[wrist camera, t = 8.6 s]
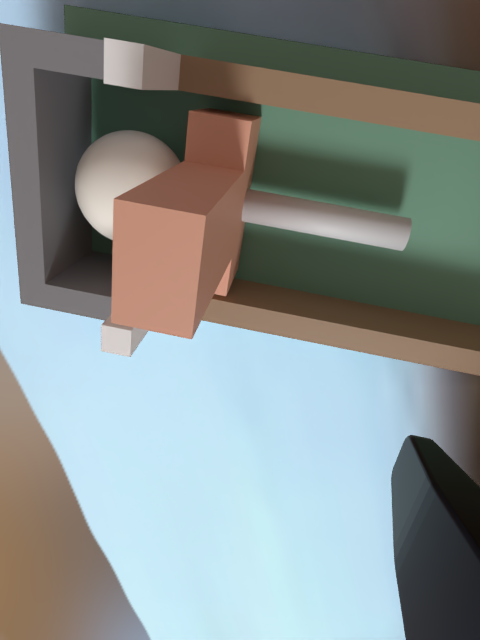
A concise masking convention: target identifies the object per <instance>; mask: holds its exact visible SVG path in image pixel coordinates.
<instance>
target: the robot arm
mask: <svg viewBox="0 0 480 640" xmlns="http://www.w3.org/2000/svg"><path fill="white" fill-rule="evenodd" d="M391 488H392V516H393V544H394V562H395V570H396V578H397V584H398V591H399V598H400V604H401V611H402V617H403V624H404V631H405V637H406V640H480V487H479V486H478V485H477V484H476V483H475V482H474V481H473V480H472V479H471V478H470V477H469V476H468V475H467V474H466V473H465V472H464V471H463V470H462V469H461V468H460V467H459V466H458V465H457V464H456V463H455V462H454V461H453V460H452V459H451V458H450V457H449V456H448V455H447V454H446V453H445V452H444V451H443V450H442V449H441V448H440V447H439V446H438V445H437V444H436V443H435V442H434V441H433V440H431V439H428V438H424V437H419V436H414V435H410V436H407V438H406V439H405V441H404V443H403V445H402V448H401V450H400V453H399V455H398V457H397V460H396V462H395V465H394V467H393V471H392V477H391Z"/></svg>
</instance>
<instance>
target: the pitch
mask: <svg viewBox="0 0 480 640" xmlns="http://www.w3.org/2000/svg"><path fill="white" fill-rule="evenodd" d="M64 16H65V34H63V33H57V32H51V31H45V30H39V29H32V28H26V27H20V26H14V25H8V24H2V23H0V52H1V65H2V77H3V89H4V102H5V114H6V126H7V138H8V151H9V163H10V175H11V188H12V200H13V212H14V225H15V237H16V249H17V262H18V274H19V286H20V299H21V303H22V304H27V305H32V306H37V307H41V308H46V309H51V310H56V311H61V312H66V313H71V314H76V315H81V316H86V317H91V318H96V319H101V320H105V321H104V323H103V324H102V325H101V351H103V352H108V353H113V354H118V355H123V356H128V357H131V355H132V354H133V352H134V351H135V349H136V348H137V347H138V345H139V344H140V342H141V341H142V339H143V338H144V336H145V335H146V334H147V332H148V331H149V330H144V329H139V328H134V327H129V326H124V325H119V324H114V323H111V302H112V251H113V240H111V239H109V238H107V237H105V236H104V235H102V234H101V233H99V232H98V231H97V230H96V229H95V228H93V227H92V225H91V224H90V223H89V222H88V221H87V220H86V218H85V217H84V215H83V213H82V211H81V209H80V207H79V205H78V202H77V198H76V194H75V174H76V170H77V166H78V163H79V161H80V159H81V157H82V155H83V154H84V152H85V151H86V150H87V148H88V147H89V146H90V145H91V144H92V143H94V142H95V141H96V140H97V139H99V138H101V137H102V136H104V135H106V134H109V133H112V132H116V131H121V130H134V131H140V132H144V133H147V134H150V135H152V136H154V137H156V138H158V139H159V140H161V141H162V142H163V143H165V144H166V145H167V146H168V147H169V148H170V149H171V150H172V151H173V152H174V153H175V154H176V156H177V158H178V159H179V161H180V162H183V161H185V149H186V138H187V126H188V115H189V111H191V110H197V109H204V108H213V109H219V110H224V111H230V112H236V113H242V114H248V115H254V116H259V117H261V124H260V130H259V137H258V143H257V150H256V156H255V163H254V169H253V175H252V182H251V188H250V189H252V190H258V191H263V192H269V193H274V194H280V195H285V196H291V197H296V198H302V199H307V200H313V201H319V202H324V203H330V204H335V205H341V206H346V207H352V208H357V209H363V210H368V211H374V212H379V213H385V214H390V215H396V216H401V217H407V218H411V220H412V227H411V233H410V237H409V240H408V242H407V245H406V247H405V249H404V250H403V251H399V250H394V249H389V248H383V247H378V246H373V245H367V244H362V243H356V242H351V241H346V240H340V239H335V238H329V237H324V236H319V235H313V234H308V233H302V232H297V231H292V230H286V229H281V228H276V227H270V226H265V225H259V224H254V223H249V222H245V227H244V233H243V240H242V246H241V253H240V259H239V266H238V270H237V272H236V275H235V277H234V279H233V282H232V284H231V286H230V289H229V291H228V293H227V296H221V295H216V294H214V295H213V297H212V299H211V301H210V303H209V305H208V307H207V309H206V312H205V314H204V316H203V318H202V320H203V321H208V322H213V323H218V324H223V325H228V326H233V327H238V328H243V329H248V330H253V331H258V332H263V333H268V334H273V335H278V336H283V337H288V338H293V339H298V340H303V341H308V342H313V343H318V344H323V345H328V346H333V347H338V348H343V349H348V350H353V351H358V352H363V353H368V354H373V355H378V356H383V357H388V358H393V359H398V360H403V361H408V362H413V363H418V364H423V365H428V366H433V367H438V368H443V369H448V370H453V371H458V372H463V373H468V374H473V375H478V376H480V71H475V70H469V69H463V68H457V67H450V66H444V65H438V64H432V63H425V62H419V61H413V60H407V59H400V58H394V57H388V56H382V55H376V54H369V53H363V52H357V51H351V50H344V49H338V48H332V47H326V46H319V45H313V44H307V43H301V42H294V41H288V40H282V39H276V38H269V37H263V36H257V35H251V34H244V33H238V32H232V31H226V30H219V29H213V28H207V27H201V26H195V25H188V24H182V23H176V22H170V21H163V20H157V19H151V18H145V17H138V16H132V15H126V14H120V13H113V12H107V11H101V10H95V9H88V8H82V7H76V6H70V5H64Z"/></svg>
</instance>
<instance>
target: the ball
mask: <svg viewBox="0 0 480 640" xmlns="http://www.w3.org/2000/svg"><path fill="white" fill-rule="evenodd" d="M179 163H181V162H180V161H179V159H178V158H177V156H176V154H175V153H174V152H173V151H172V150H171V149H170V148H169V147H168V146H167V145H166V144H165V143H163V142H162V141H161V140H159V139H158V138H156V137H154V136H152V135H150V134H147V133H144V132H140V131H134V130H121V131H116V132H112V133H109V134H106V135H104V136H102V137H101V138H99V139H97V140H96V141H95V142H94V143H92V144H91V145H90V146H89V147H88V148H87V150H86V151H85V152H84V154H83V155H82V157H81V159H80V161H79V163H78V166H77V170H76V174H75V194H76V198H77V202H78V205H79V207H80V209H81V211H82V213H83V215H84V217H85V218H86V220H87V221H88V222H89V223H90V224H91V225H92V227H93V228H95V229H96V230H97V231H98V232H99V233H101V234H102V235H104V236H105V237H107V238H109V239H111V240H113V201H114V198H116V197H118V196H119V195H121V194H123V193H125V192H127V191H129V190H131V189H132V188H134V187H136V186H138V185H140V184H142V183H144V182H146V181H147V180H149V179H151V178H153V177H155V176H157V175H159V174H161V173H162V172H164V171H166V170H168V169H170V168H172V167H174V166H175V165H177V164H179Z"/></svg>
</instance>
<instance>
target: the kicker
mask: <svg viewBox="0 0 480 640" xmlns="http://www.w3.org/2000/svg"><path fill="white" fill-rule="evenodd" d="M260 124H261V117H259V116H254V115H248V114H242V113H236V112H230V111H224V110H219V109H213V108H204V109H197V110H191V111H189V115H188V126H187V138H186V149H185V161H183V162H181V163H179V164H177V165H175V166H174V167H172V168H170V169H168V170H166V171H164V172H162V173H161V174H159V175H157V176H155V177H153V178H151V179H149V180H147V181H146V182H144V183H142V184H140V185H138V186H136V187H134V188H132V189H131V190H129V191H127V192H125V193H123V194H121V195H119V196H118V197H116V198H114V201H113V251H112V302H111V323H114V324H119V325H124V326H129V327H134V328H139V329H144V330H149V331H154V332H159V333H164V334H168V335H173V336H178V337H183V338H188V339H192V338H193V336H194V334H195V332H196V330H197V328H198V326H199V324H200V322H201V320H202V318H203V316H204V314H205V312H206V309H207V307H208V305H209V303H210V301H211V299H212V297H213V295H214V294H216V295H221V296H227V293H228V291H229V289H230V286H231V284H232V282H233V279H234V277H235V275H236V272H237V270H238V266H239V259H240V253H241V246H242V240H243V233H244V227H245V222H249V223H254V224H259V225H265V226H270V227H276V228H281V229H286V230H292V231H297V232H302V233H308V234H313V235H319V236H324V237H329V238H335V239H340V240H346V241H351V242H356V243H362V244H367V245H373V246H378V247H383V248H389V249H394V250H399V251H403V250H404V249H405V247H406V245H407V242H408V240H409V237H410V233H411V227H412V220H411V218H407V217H401V216H396V215H390V214H385V213H379V212H374V211H368V210H363V209H357V208H352V207H346V206H341V205H335V204H330V203H324V202H319V201H313V200H307V199H302V198H296V197H291V196H285V195H280V194H274V193H269V192H263V191H258V190H252V189H250V188H251V182H252V175H253V169H254V163H255V156H256V150H257V143H258V137H259V130H260Z"/></svg>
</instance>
